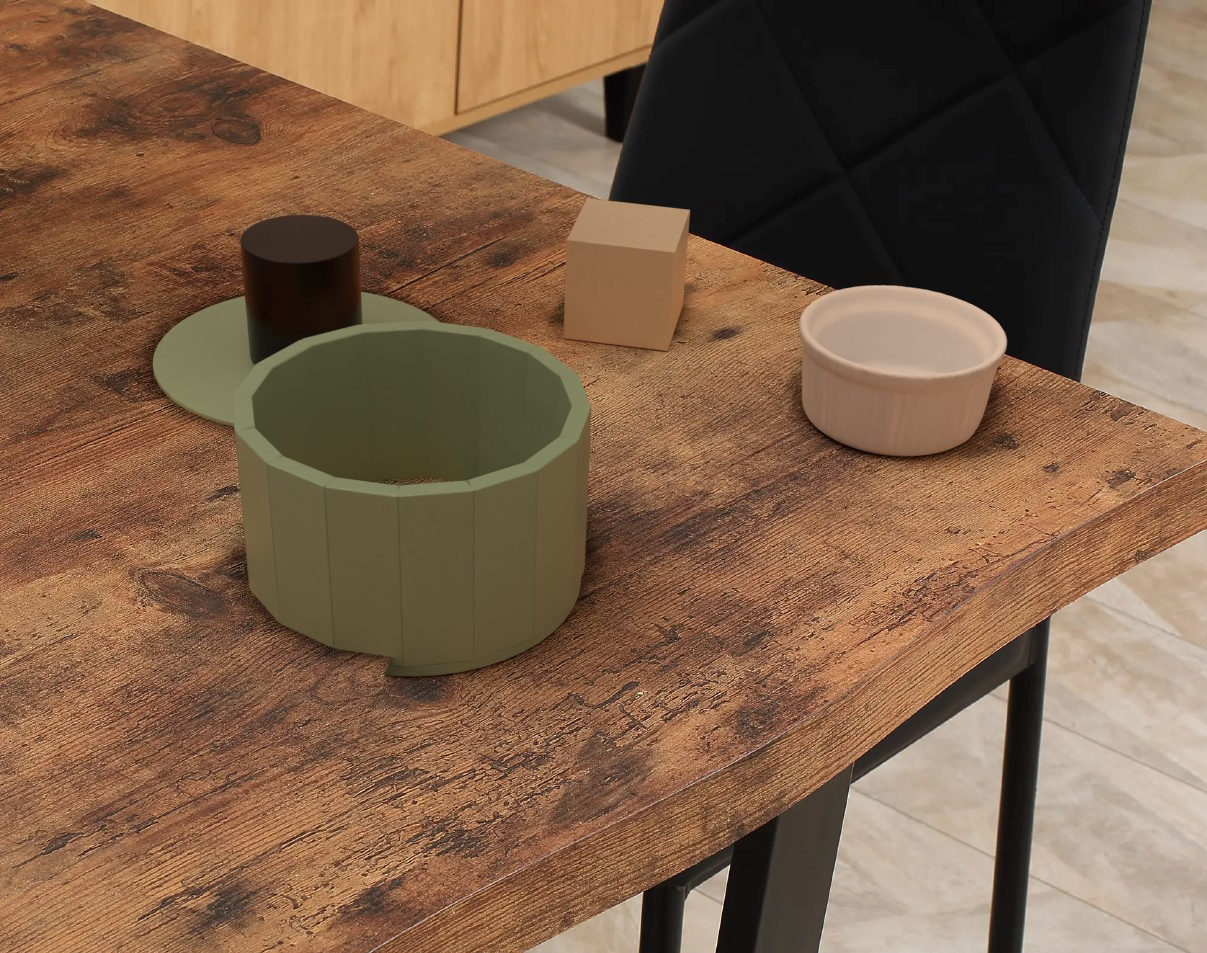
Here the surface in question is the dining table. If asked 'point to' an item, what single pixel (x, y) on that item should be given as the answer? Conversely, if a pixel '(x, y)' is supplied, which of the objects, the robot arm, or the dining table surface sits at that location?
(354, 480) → the tin
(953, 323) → the ramekin
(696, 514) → the dining table surface
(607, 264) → the tan cube
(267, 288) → the tin lid
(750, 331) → the dining table surface
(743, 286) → the dining table surface
